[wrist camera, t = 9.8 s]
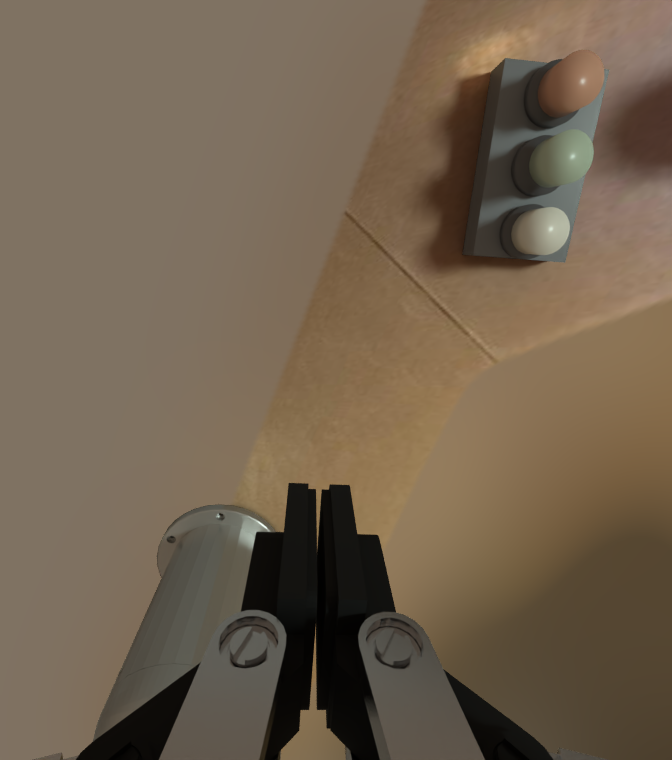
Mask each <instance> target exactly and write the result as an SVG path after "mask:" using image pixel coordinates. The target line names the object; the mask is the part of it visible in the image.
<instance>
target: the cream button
mask: <svg viewBox="0 0 672 760" xmlns="http://www.w3.org/2000/svg"><path fill="white" fill-rule="evenodd" d="M569 231H570V223H569V220H568V217H567V215H566V214H565V213H564V212H563V211H562V210H560V209H558V208H555V207H546V208H540V209H533V210H528V211H526V212H524V213H523V214H521V215H520V216H519V217H518V218H517V220H516V221H515V223H514V225H513V227H512V232H511V237H512V242H513V244H514V246H515V248H516V249H517V250H518V251H520V252H522V253H524V254H534V255H549V254H552V253H554V252H556V251H558V250H559V249H560V248H561V247H562V246H563V245H564V244H565V242H566V240H567V238H568V236H569Z"/></svg>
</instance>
